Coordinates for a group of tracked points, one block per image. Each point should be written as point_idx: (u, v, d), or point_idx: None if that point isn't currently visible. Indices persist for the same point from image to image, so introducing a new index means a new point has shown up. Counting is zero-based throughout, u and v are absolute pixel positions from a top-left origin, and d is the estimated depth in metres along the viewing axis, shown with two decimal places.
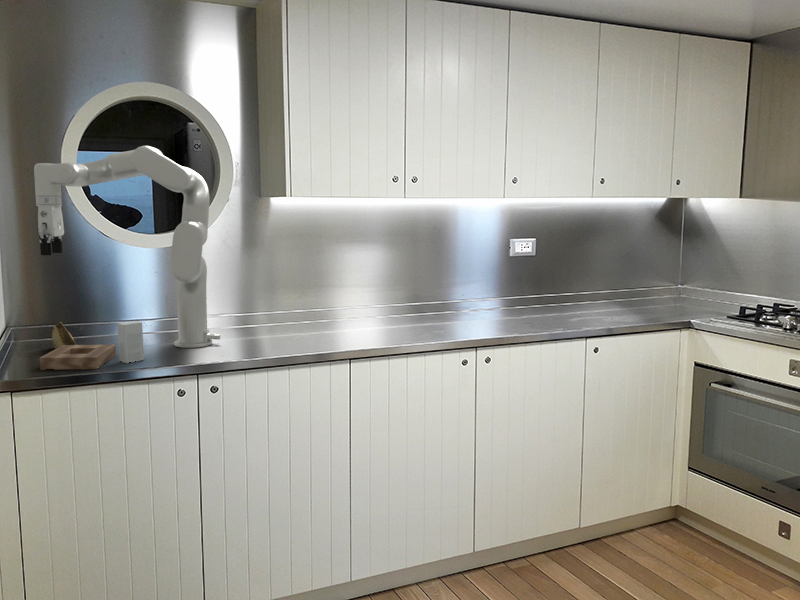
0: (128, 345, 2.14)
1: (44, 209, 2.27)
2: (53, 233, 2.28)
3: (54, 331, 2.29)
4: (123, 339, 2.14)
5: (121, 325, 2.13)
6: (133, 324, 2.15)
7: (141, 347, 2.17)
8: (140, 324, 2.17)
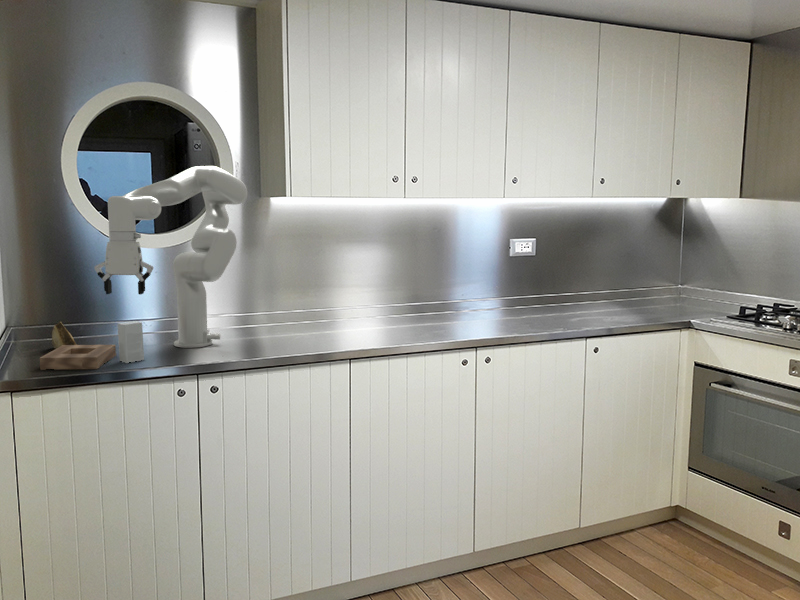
0: (128, 345, 2.14)
1: (138, 245, 2.14)
2: None
3: (54, 331, 2.29)
4: (123, 339, 2.14)
5: (121, 325, 2.13)
6: (133, 324, 2.15)
7: (141, 347, 2.17)
8: (140, 324, 2.17)
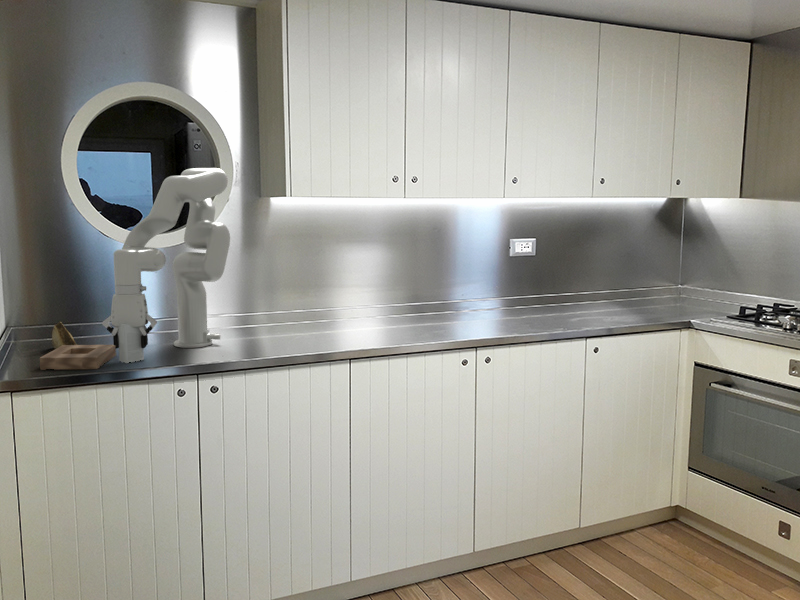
0: (128, 345, 2.14)
1: (144, 297, 2.15)
2: None
3: (54, 331, 2.29)
4: (122, 339, 2.14)
5: (121, 325, 2.13)
6: None
7: None
8: None
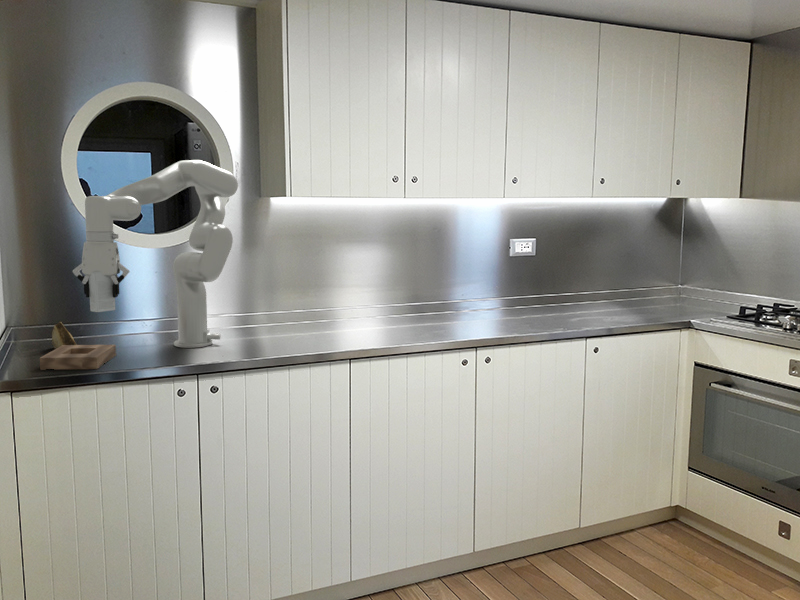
0: (99, 294, 2.10)
1: (116, 246, 2.12)
2: None
3: (54, 331, 2.29)
4: (93, 287, 2.10)
5: (92, 273, 2.10)
6: None
7: (112, 296, 2.14)
8: None
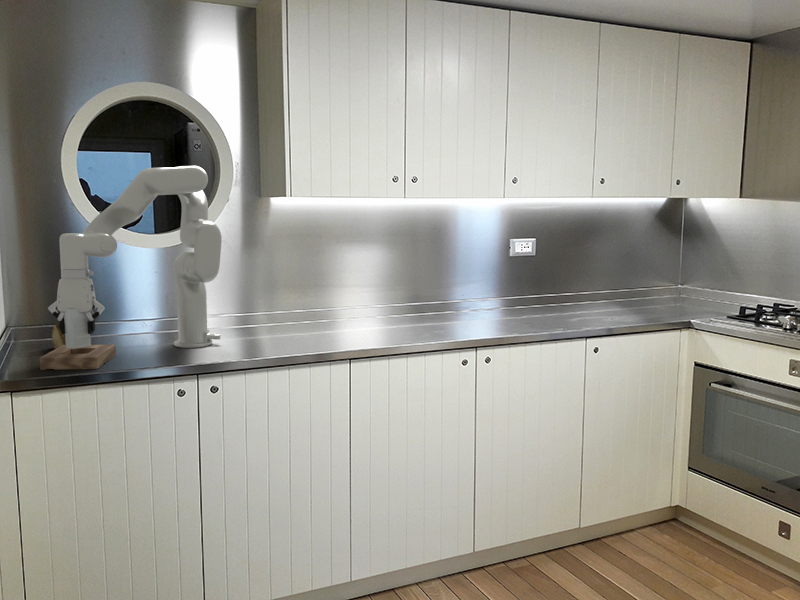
0: (73, 330, 2.11)
1: (91, 282, 2.12)
2: None
3: (54, 331, 2.29)
4: (68, 324, 2.11)
5: (67, 310, 2.10)
6: None
7: None
8: None
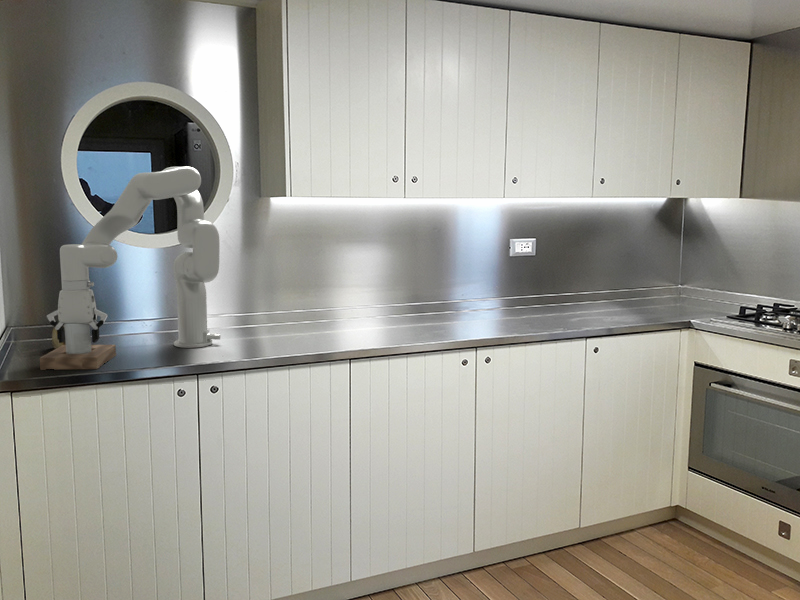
0: (75, 345, 2.12)
1: (92, 293, 2.13)
2: None
3: (54, 331, 2.29)
4: (69, 339, 2.11)
5: (68, 325, 2.11)
6: (80, 324, 2.12)
7: (89, 347, 2.15)
8: (87, 324, 2.14)
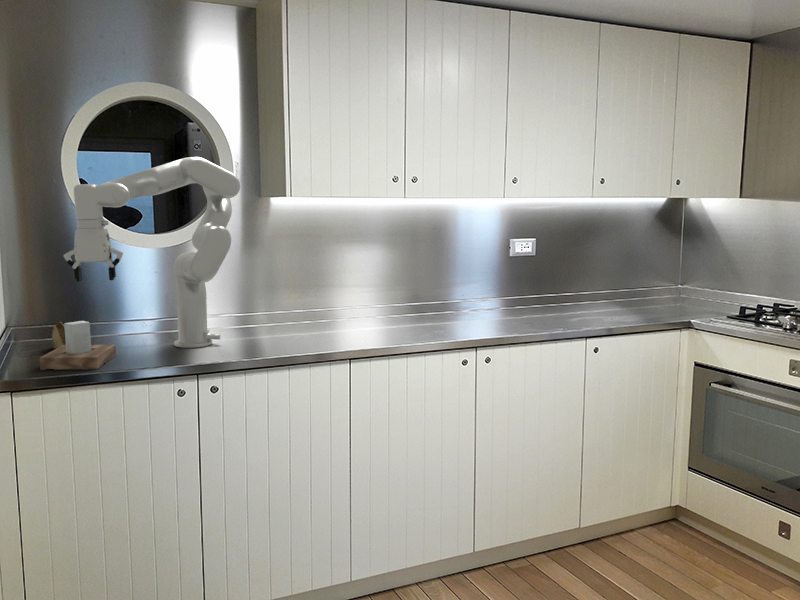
0: (75, 345, 2.12)
1: (107, 232, 2.17)
2: None
3: (55, 331, 2.29)
4: (69, 339, 2.11)
5: (68, 325, 2.11)
6: (80, 324, 2.12)
7: (89, 347, 2.15)
8: (87, 324, 2.14)
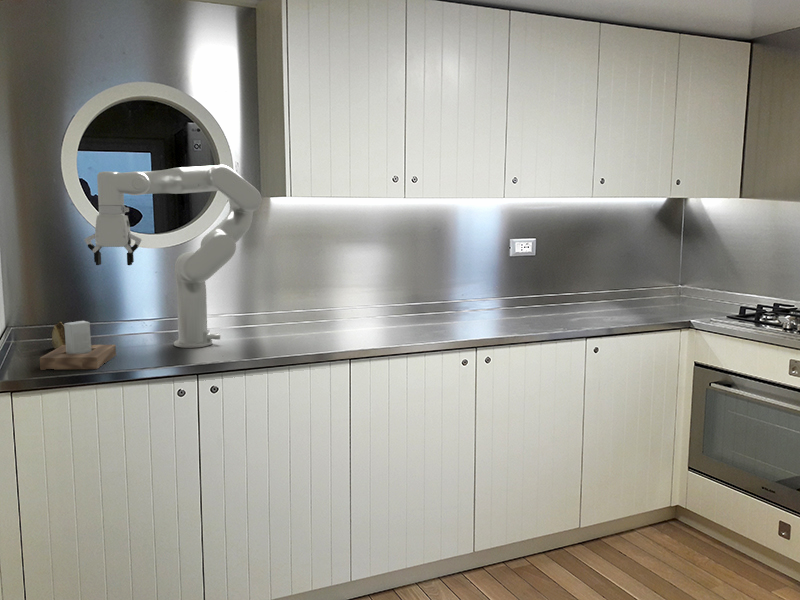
0: (75, 345, 2.12)
1: (127, 218, 2.25)
2: None
3: (54, 331, 2.29)
4: (69, 339, 2.11)
5: (68, 325, 2.11)
6: (80, 324, 2.12)
7: (89, 347, 2.15)
8: (88, 324, 2.14)
